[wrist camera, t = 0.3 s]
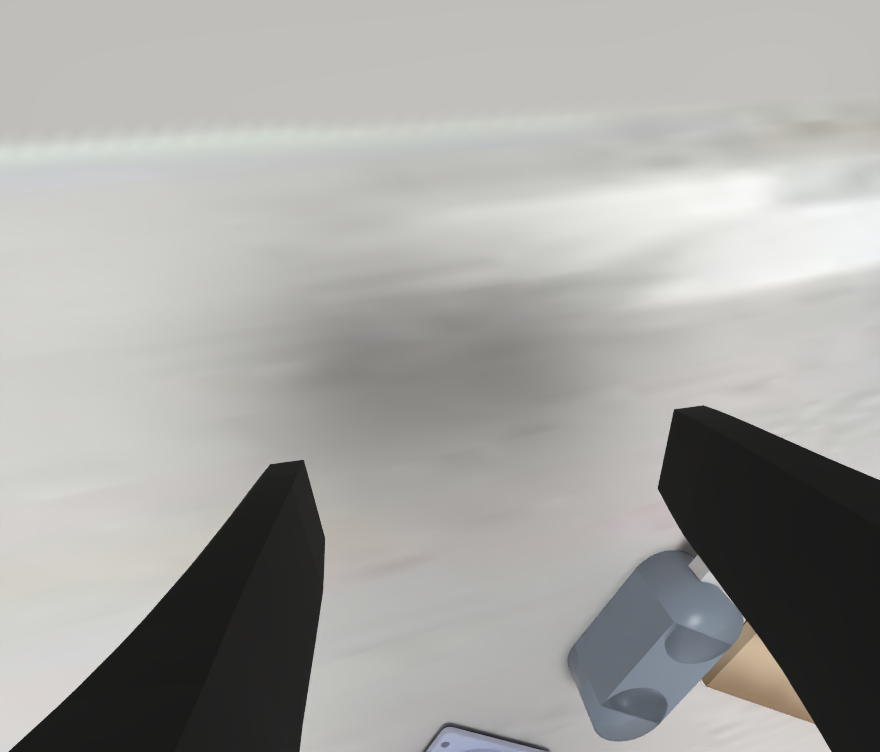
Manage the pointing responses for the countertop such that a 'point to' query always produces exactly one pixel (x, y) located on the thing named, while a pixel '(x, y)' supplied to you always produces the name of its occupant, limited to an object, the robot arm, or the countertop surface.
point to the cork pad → (755, 676)
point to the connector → (652, 644)
